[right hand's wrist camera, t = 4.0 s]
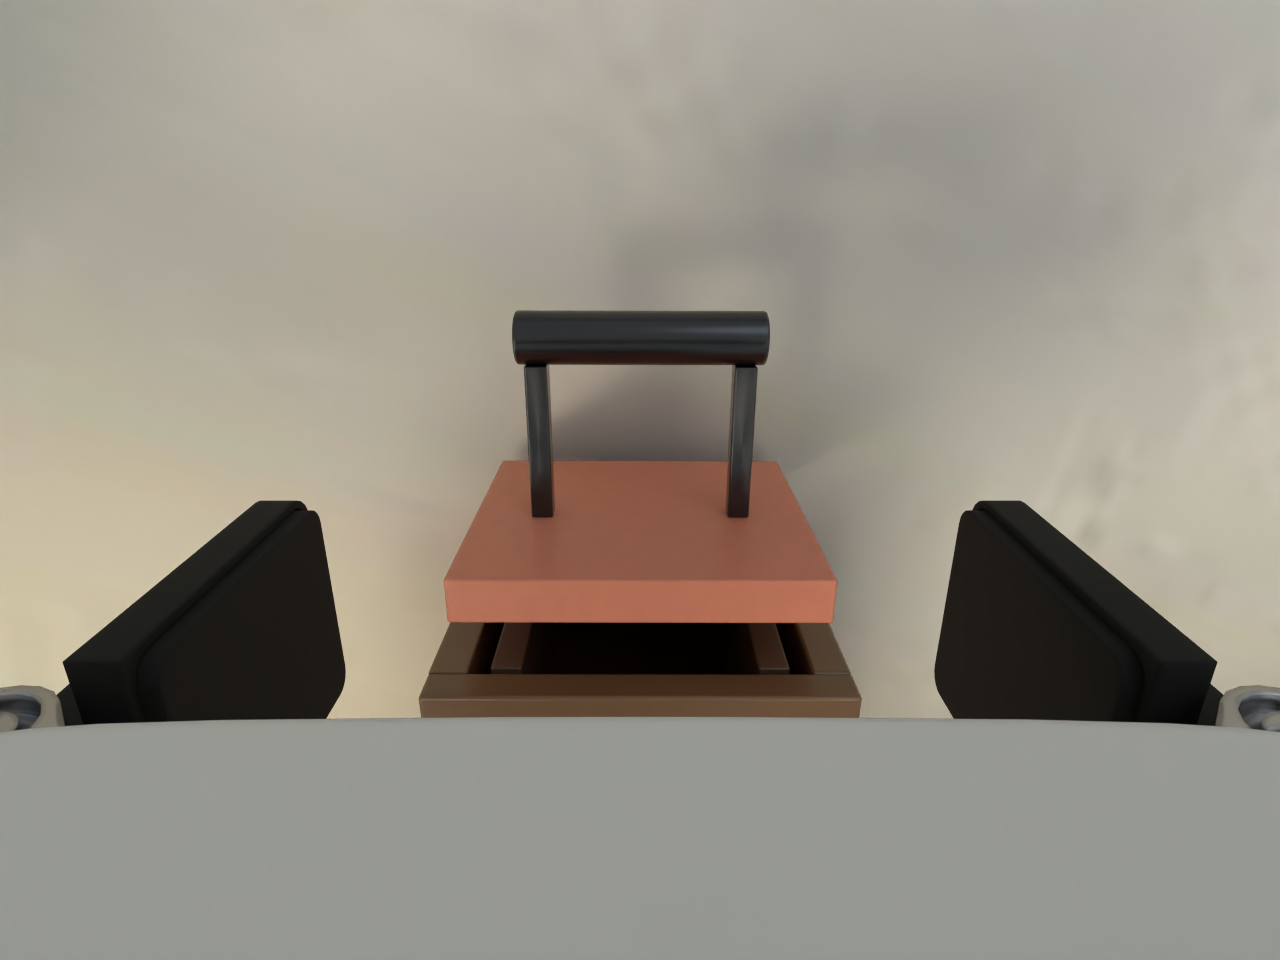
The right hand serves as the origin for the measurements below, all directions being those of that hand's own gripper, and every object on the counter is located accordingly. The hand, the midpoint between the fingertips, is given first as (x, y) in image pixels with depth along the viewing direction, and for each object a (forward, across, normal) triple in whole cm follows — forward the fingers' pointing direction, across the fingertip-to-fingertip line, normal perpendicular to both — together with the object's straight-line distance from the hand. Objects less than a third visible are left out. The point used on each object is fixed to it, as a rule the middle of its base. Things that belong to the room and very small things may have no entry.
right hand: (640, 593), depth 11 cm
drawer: (+14, 0, +10) cm, 17 cm away
